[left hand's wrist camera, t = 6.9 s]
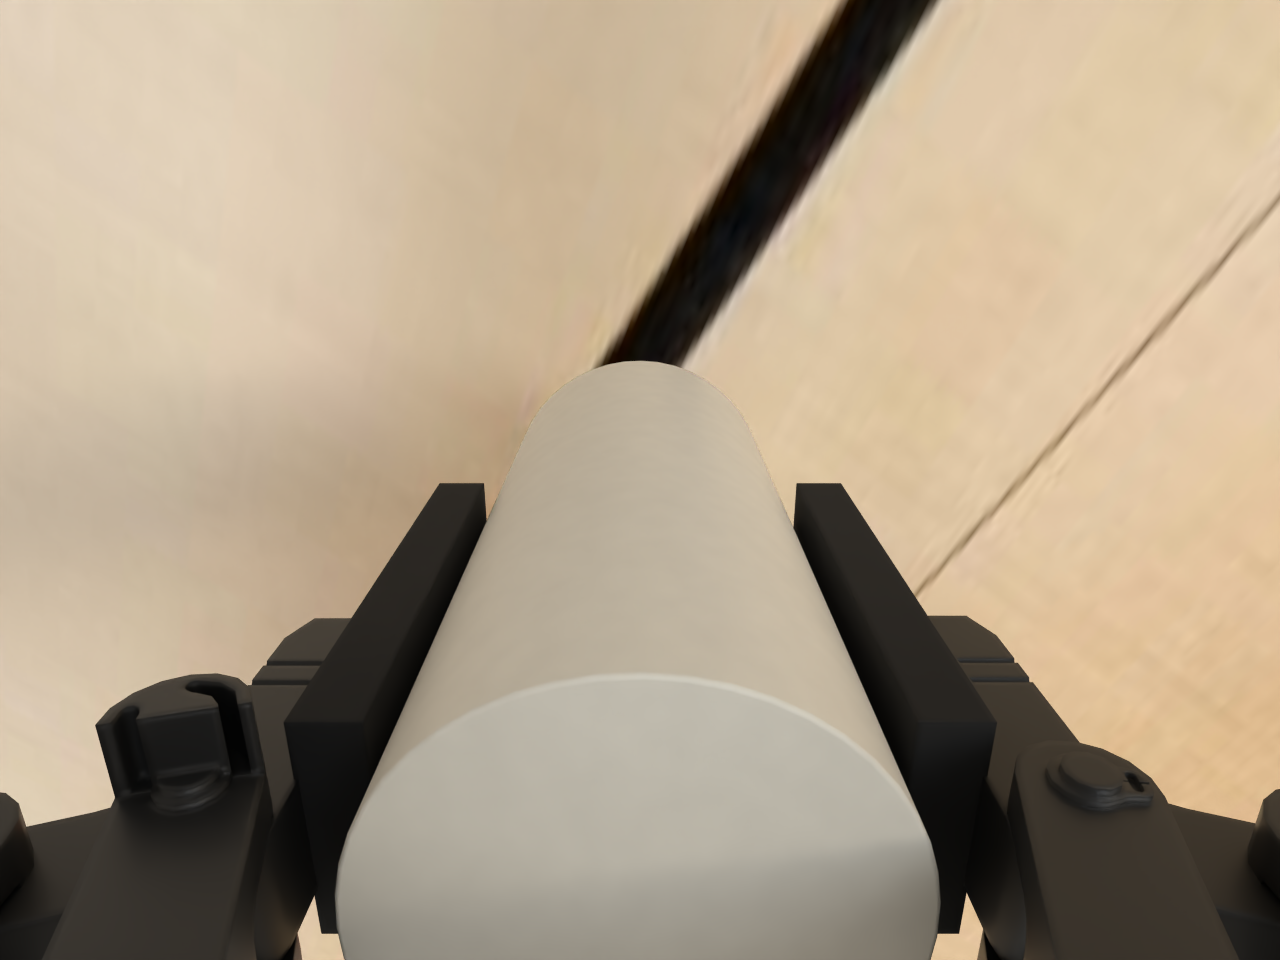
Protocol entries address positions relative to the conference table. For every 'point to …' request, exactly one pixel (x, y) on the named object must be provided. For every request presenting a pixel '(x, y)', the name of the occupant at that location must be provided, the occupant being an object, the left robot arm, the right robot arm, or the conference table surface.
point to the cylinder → (637, 721)
